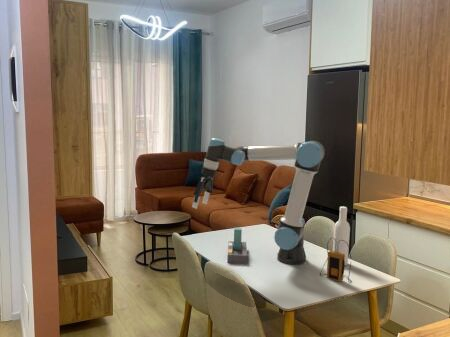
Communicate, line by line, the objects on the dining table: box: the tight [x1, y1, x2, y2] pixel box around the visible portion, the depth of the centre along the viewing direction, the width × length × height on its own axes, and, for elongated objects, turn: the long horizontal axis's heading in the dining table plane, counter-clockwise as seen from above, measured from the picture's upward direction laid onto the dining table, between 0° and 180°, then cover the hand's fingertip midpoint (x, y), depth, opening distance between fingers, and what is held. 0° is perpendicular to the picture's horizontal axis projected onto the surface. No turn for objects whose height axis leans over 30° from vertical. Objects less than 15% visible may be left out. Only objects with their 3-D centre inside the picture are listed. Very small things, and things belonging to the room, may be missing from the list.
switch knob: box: [233, 227, 243, 250], centre depth 243 cm, size 5×4×11 cm
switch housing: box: [226, 240, 248, 264], centre depth 238 cm, size 24×10×4 cm, turn 178°
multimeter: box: [319, 237, 352, 283], centre depth 209 cm, size 15×10×20 cm
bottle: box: [332, 206, 351, 266], centre depth 229 cm, size 8×8×30 cm
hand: (199, 205), depth 233 cm, fingers open, 13 cm apart
